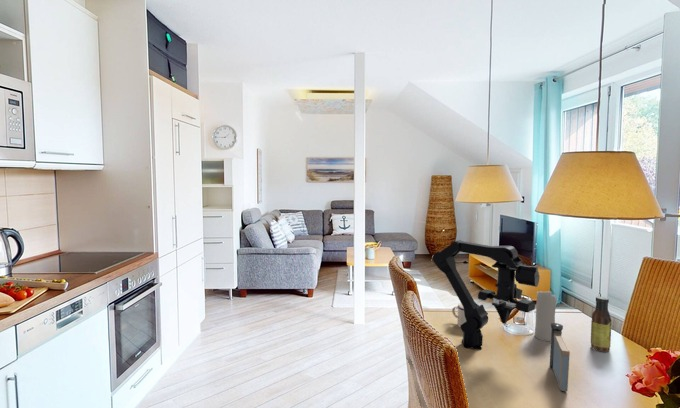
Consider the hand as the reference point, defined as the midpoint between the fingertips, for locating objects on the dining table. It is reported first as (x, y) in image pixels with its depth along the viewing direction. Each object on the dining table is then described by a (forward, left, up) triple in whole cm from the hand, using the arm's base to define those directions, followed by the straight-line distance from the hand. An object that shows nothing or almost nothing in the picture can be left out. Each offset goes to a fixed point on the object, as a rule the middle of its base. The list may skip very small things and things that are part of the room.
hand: (504, 323), depth 134 cm
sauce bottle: (+38, +14, -12) cm, 42 cm away
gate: (+14, -14, -11) cm, 23 cm away
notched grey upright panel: (+23, +23, -12) cm, 35 cm away
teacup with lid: (-10, +26, -12) cm, 30 cm away
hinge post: (+15, -6, -12) cm, 20 cm away
